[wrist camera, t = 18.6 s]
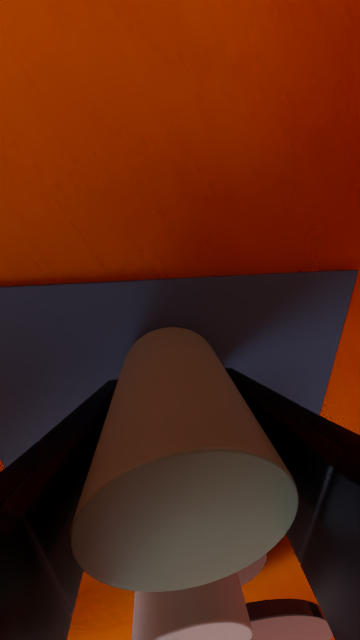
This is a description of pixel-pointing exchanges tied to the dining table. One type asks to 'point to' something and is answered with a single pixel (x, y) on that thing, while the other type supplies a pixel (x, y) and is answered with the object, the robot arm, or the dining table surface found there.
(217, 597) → the ivory candle
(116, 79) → the dining table surface
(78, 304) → the placemat
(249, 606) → the cake stand
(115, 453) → the sage candle
